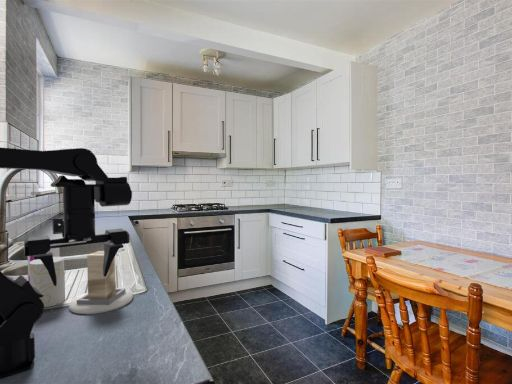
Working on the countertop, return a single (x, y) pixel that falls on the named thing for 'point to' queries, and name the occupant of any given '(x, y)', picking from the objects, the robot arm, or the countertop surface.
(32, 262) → the cup
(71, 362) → the countertop surface
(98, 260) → the birch block
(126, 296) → the locating plate
